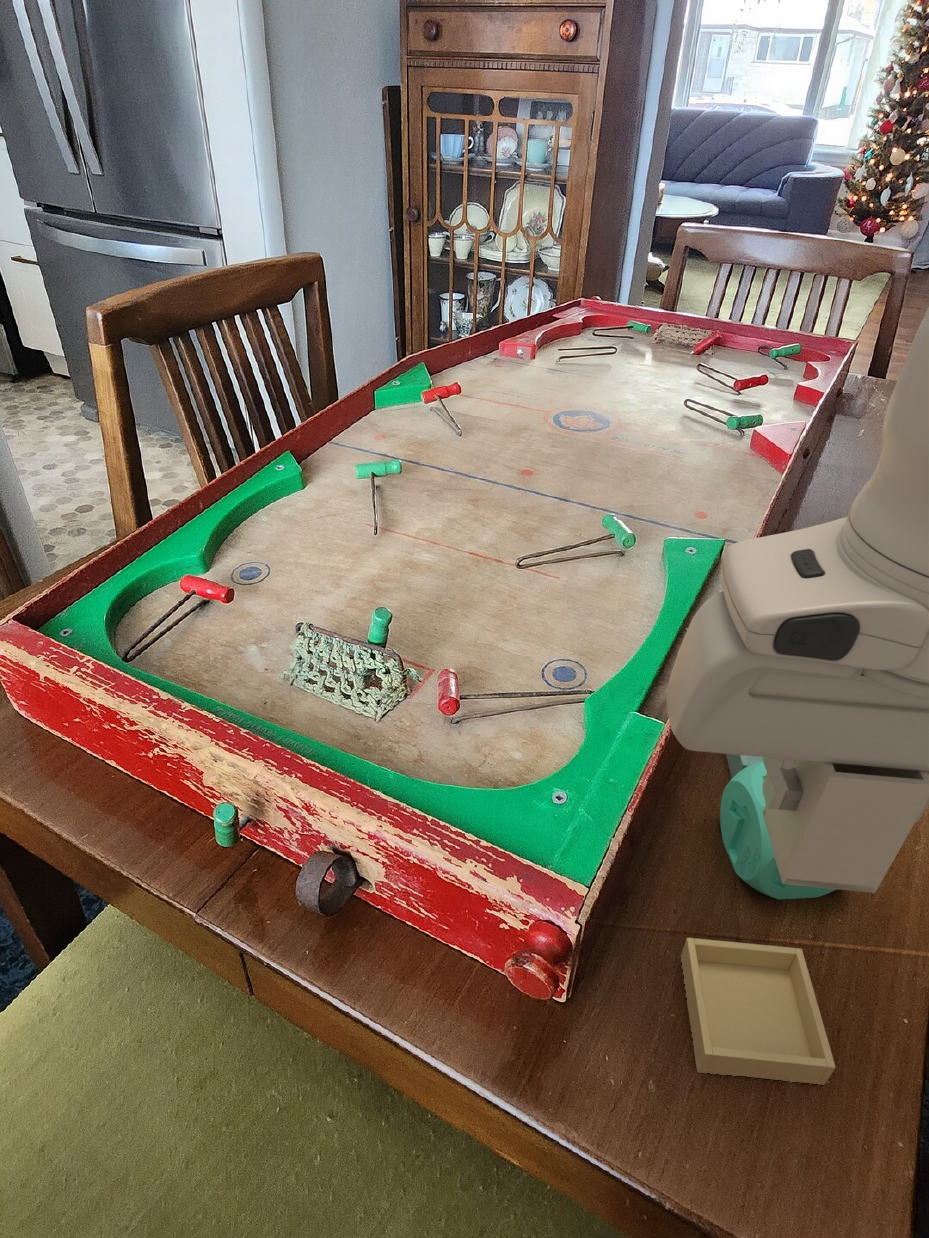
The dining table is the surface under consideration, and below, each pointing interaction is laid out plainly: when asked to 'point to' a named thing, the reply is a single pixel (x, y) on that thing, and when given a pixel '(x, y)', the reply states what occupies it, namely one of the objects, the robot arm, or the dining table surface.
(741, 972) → the tray
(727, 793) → the decorative dice
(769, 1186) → the dining table surface
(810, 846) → the container
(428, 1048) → the dining table surface
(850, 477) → the dining table surface
